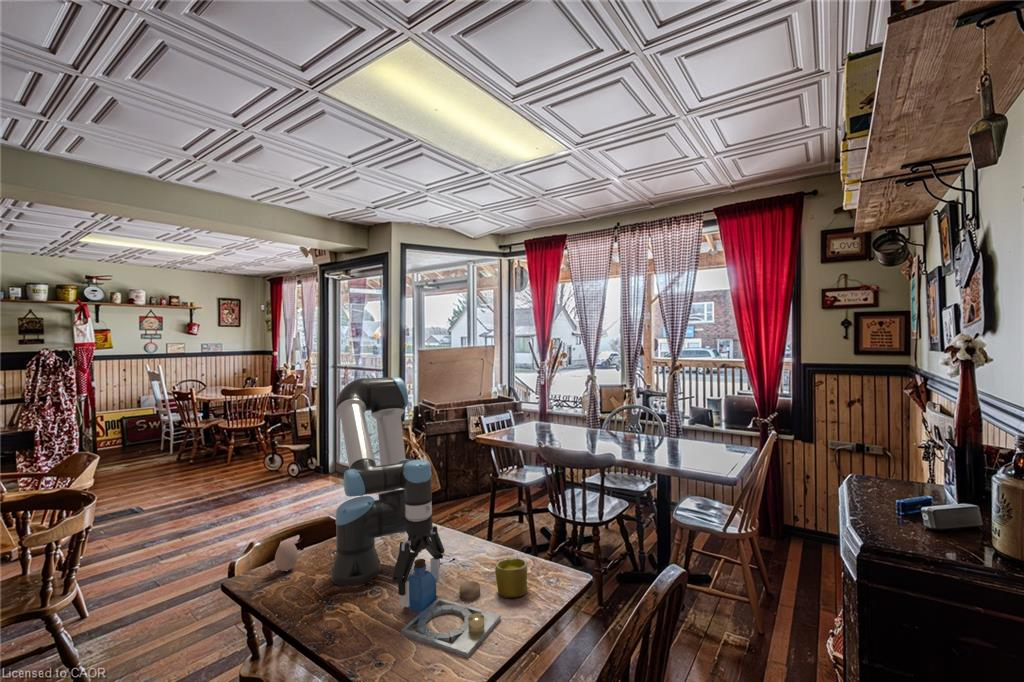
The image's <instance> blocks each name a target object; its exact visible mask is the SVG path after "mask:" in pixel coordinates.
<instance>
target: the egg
mask: <svg viewBox="0 0 1024 682" xmlns="http://www.w3.org/2000/svg"><path fill="white" fill-rule="evenodd" d="M298 559H299V551H298V548H297V546H296V544H294V542H292V541H290V540H285V541H283V542H281V543H280V544H279V546H278V548H276V552H275V555H274V565H275V567H276V568H277V569H278V570H279V571H280V570H281V571H280V572H283V571H286V570H289V569H291V568H292V569H294V567H295V566H296V564H297V563H298ZM292 569H291V570H292Z"/></svg>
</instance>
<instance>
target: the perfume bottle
mask: <svg viewBox="0 0 1024 682" xmlns="http://www.w3.org/2000/svg"><path fill="white" fill-rule="evenodd" d="M413 571H414V572H412V573H409V576H408V578H407V581H409V607H406V608H408V609H410V610H412V611H415V612H417V613H419V614H420V613H421V612H422V611H424V610H425V609H426V608H427V607H428V606H429V605H431V604H432V603H433V602H434V601H435V600H436V599H437V582H436V579H435V578H434V577H433V575H432V574H431V571H429V570H427V563H426V559H425V558H417V559H416V560H414V563H413Z"/></svg>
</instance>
